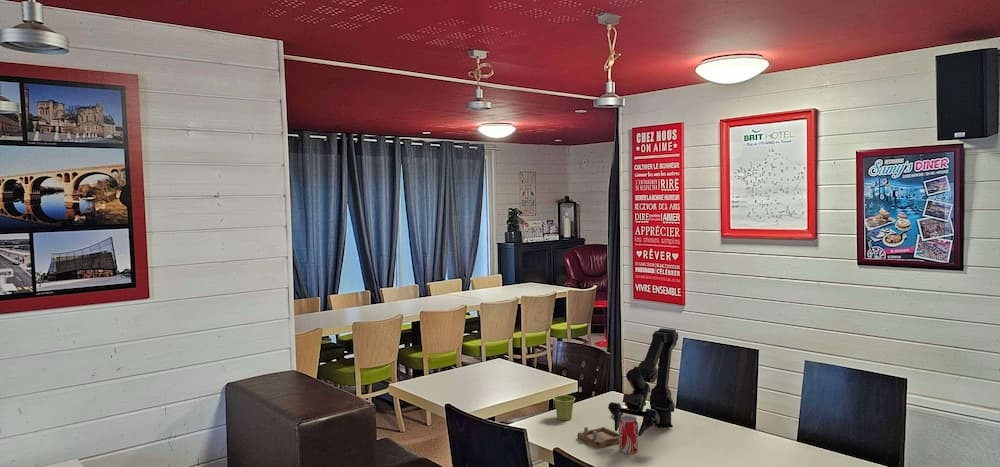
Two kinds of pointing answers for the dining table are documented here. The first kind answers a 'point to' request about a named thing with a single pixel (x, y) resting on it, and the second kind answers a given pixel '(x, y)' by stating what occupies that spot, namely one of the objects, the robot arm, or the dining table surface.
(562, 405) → the plant pot
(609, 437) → the caddy
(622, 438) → the soda can
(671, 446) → the dining table surface
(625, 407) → the coaster
